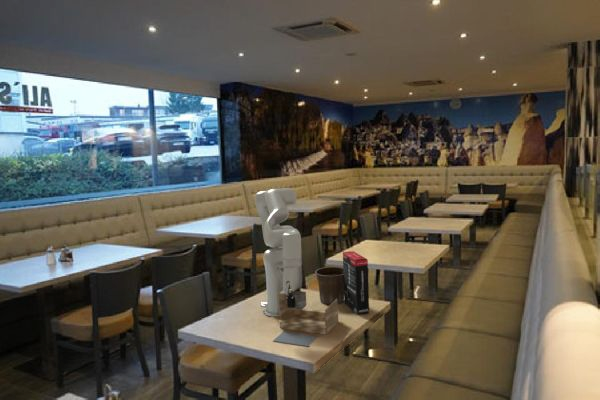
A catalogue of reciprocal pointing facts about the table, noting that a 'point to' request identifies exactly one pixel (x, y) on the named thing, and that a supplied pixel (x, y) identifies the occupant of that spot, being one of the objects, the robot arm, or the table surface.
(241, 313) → the table surface
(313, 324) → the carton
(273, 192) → the robot arm
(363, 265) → the graphics card box
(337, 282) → the plant pot
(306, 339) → the rubber mat
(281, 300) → the walnut block
